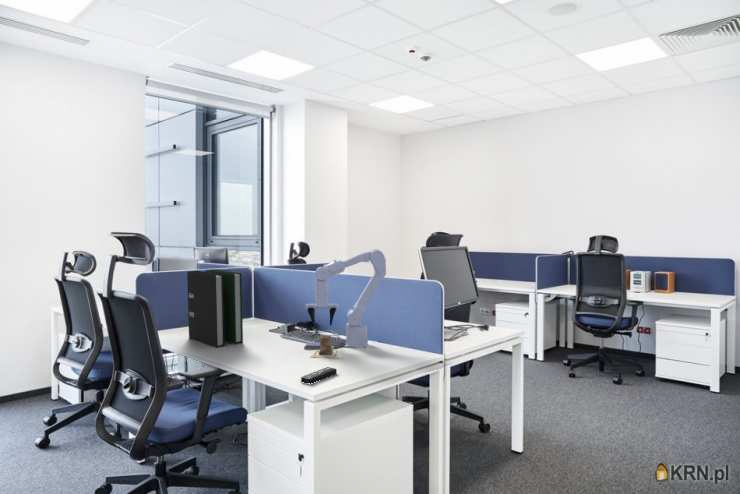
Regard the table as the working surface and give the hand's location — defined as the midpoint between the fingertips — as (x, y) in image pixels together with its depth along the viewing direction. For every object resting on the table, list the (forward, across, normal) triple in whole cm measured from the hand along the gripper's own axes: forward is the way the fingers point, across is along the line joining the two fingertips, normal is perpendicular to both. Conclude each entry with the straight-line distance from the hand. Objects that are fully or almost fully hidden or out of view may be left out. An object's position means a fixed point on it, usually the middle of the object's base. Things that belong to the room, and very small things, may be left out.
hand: (322, 324), depth 220 cm
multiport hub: (+10, +6, -46) cm, 47 cm away
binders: (+10, -52, +9) cm, 53 cm away
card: (+9, +4, -13) cm, 16 cm away
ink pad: (+9, -3, -3) cm, 10 cm away
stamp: (+9, +4, -13) cm, 16 cm away
